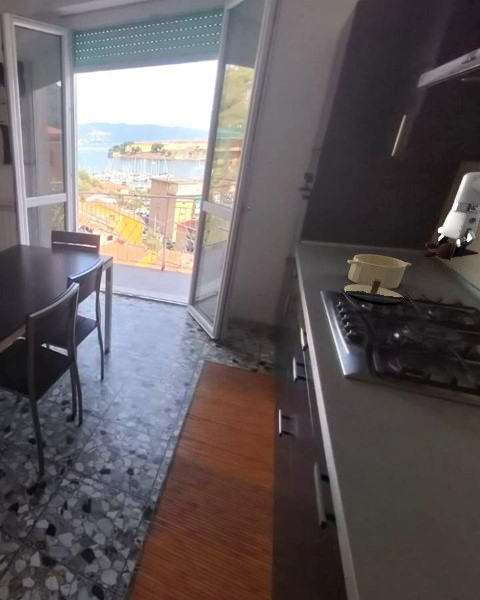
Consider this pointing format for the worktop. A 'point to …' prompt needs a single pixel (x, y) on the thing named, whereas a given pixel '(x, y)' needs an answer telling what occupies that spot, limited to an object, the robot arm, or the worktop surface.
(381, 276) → the pot
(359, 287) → the lid
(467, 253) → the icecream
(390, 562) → the worktop surface
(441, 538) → the worktop surface
